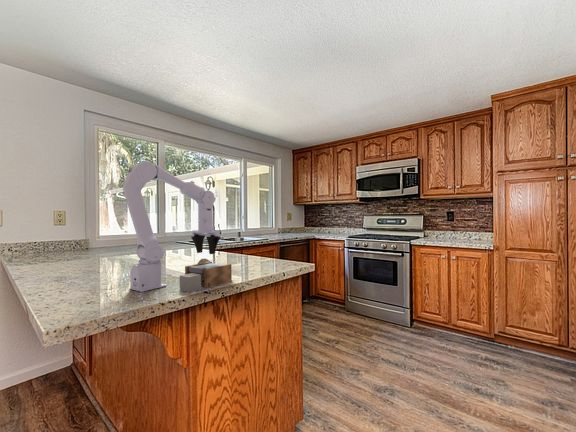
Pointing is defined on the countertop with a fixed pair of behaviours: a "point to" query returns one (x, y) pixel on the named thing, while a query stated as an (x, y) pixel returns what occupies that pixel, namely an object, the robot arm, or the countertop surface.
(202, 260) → the coral
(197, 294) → the countertop surface
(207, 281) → the frame
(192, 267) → the trapdoor
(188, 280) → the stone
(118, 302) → the countertop surface
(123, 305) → the countertop surface
